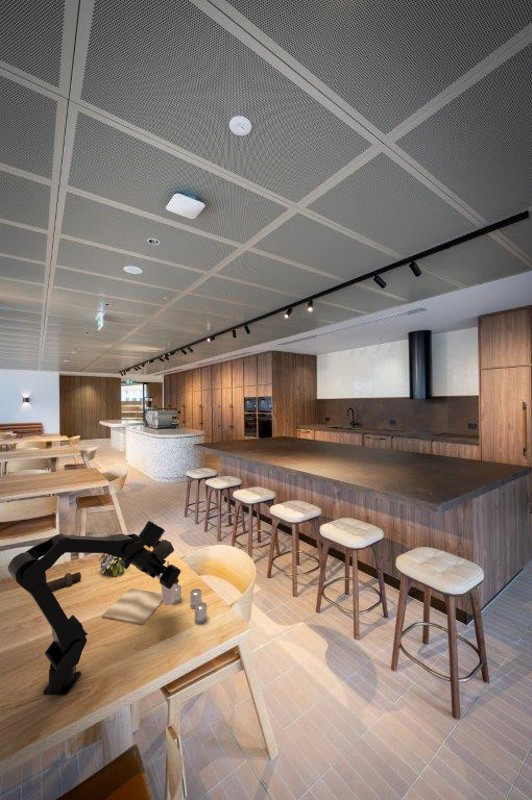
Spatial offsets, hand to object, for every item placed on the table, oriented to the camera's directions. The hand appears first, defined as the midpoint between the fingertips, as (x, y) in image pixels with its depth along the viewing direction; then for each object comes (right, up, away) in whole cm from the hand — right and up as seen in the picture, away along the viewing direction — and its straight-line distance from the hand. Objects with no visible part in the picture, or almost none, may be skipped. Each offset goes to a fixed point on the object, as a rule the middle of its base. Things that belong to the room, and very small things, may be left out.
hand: (172, 578), depth 114 cm
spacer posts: (+6, -13, +5) cm, 15 cm away
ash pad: (-15, -13, +5) cm, 20 cm away
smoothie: (-1, -8, -1) cm, 8 cm away
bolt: (-50, -13, +16) cm, 54 cm away
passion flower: (-34, -13, +29) cm, 46 cm away
